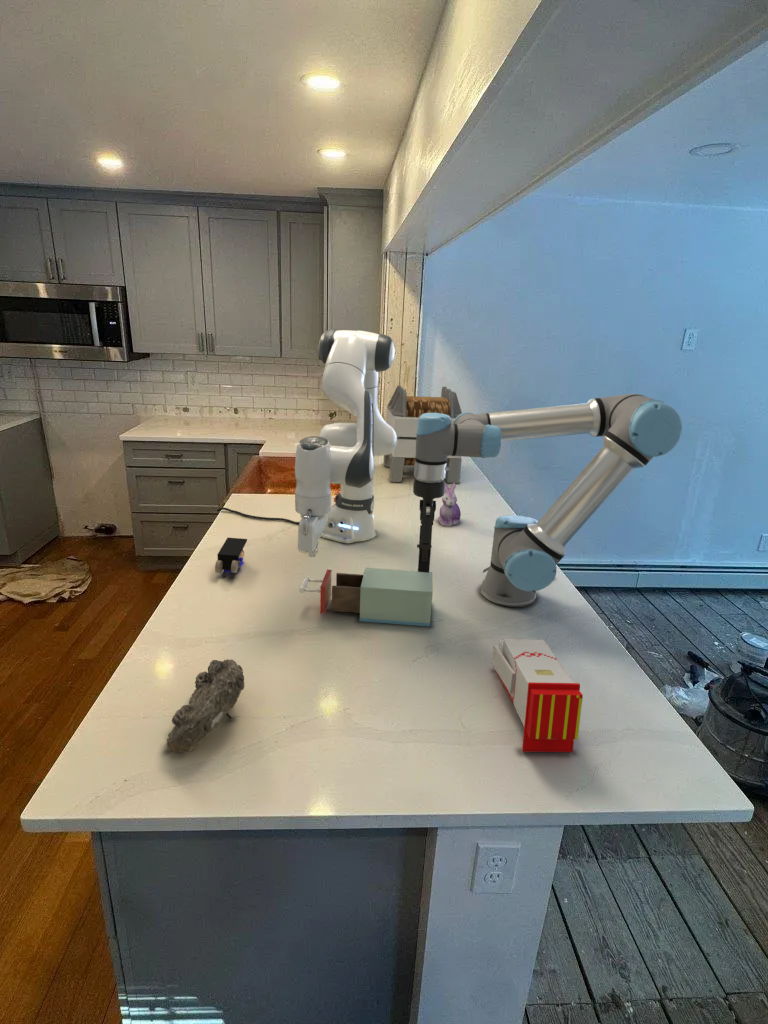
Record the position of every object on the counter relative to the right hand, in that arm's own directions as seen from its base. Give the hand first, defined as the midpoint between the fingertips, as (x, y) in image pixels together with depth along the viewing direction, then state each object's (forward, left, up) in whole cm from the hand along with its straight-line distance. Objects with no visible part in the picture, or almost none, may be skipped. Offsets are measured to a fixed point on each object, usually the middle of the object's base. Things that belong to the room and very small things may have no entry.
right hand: (423, 560), depth 142 cm
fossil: (+55, +23, -16) cm, 61 cm away
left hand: (+25, -12, -1) cm, 28 cm away
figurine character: (+42, -41, -16) cm, 61 cm away
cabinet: (+6, -3, -16) cm, 17 cm away
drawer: (+18, -9, -15) cm, 25 cm away
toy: (-6, +39, -16) cm, 43 cm away
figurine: (-40, -58, -16) cm, 72 cm away
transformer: (-58, -122, -16) cm, 136 cm away
